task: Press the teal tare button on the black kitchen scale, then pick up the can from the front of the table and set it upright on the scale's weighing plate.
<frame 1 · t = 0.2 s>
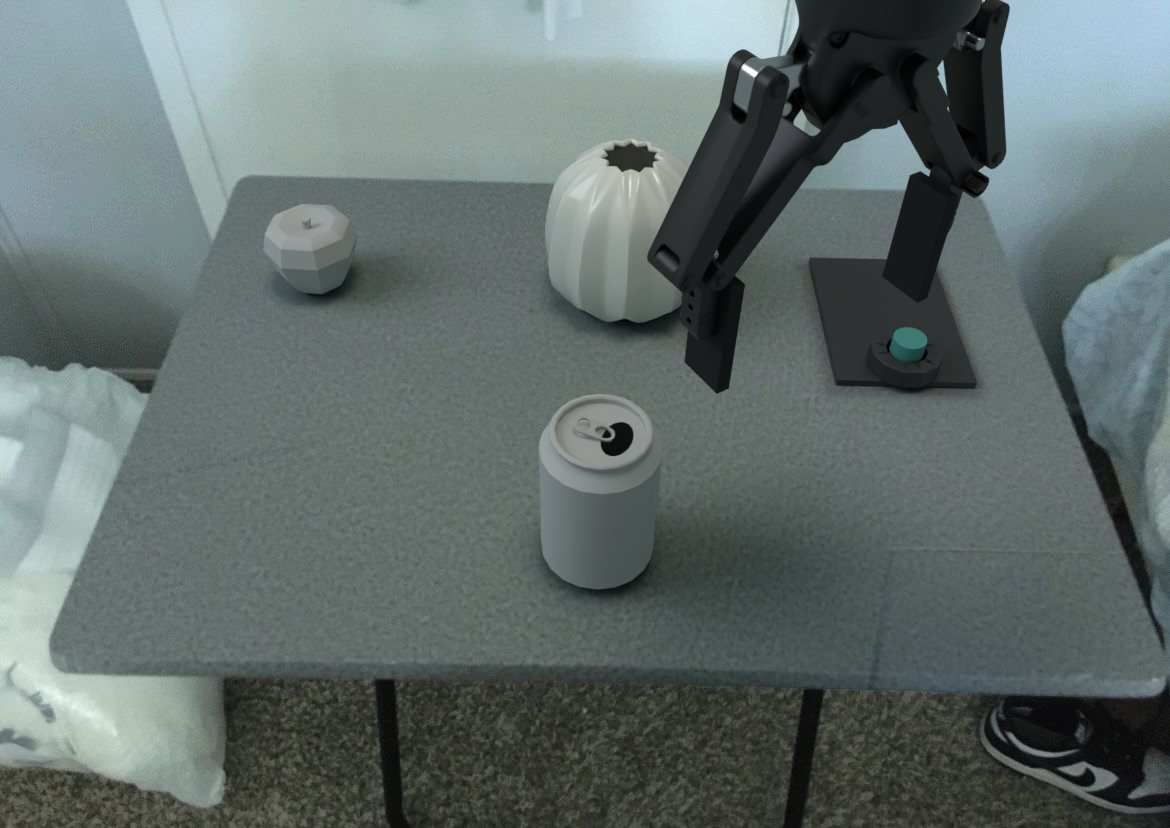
hand: (809, 329, 54), 21 cm above the table, tool pointing down, fingers open, 13 cm apart
apple: (319, 283, 90), on the table
can: (596, 552, 70), on the table
scale: (886, 321, 87), on the table
vase: (624, 294, 89), on the table
tare button: (908, 345, 81), point 3 cm above the table, slide at 0.1 cm
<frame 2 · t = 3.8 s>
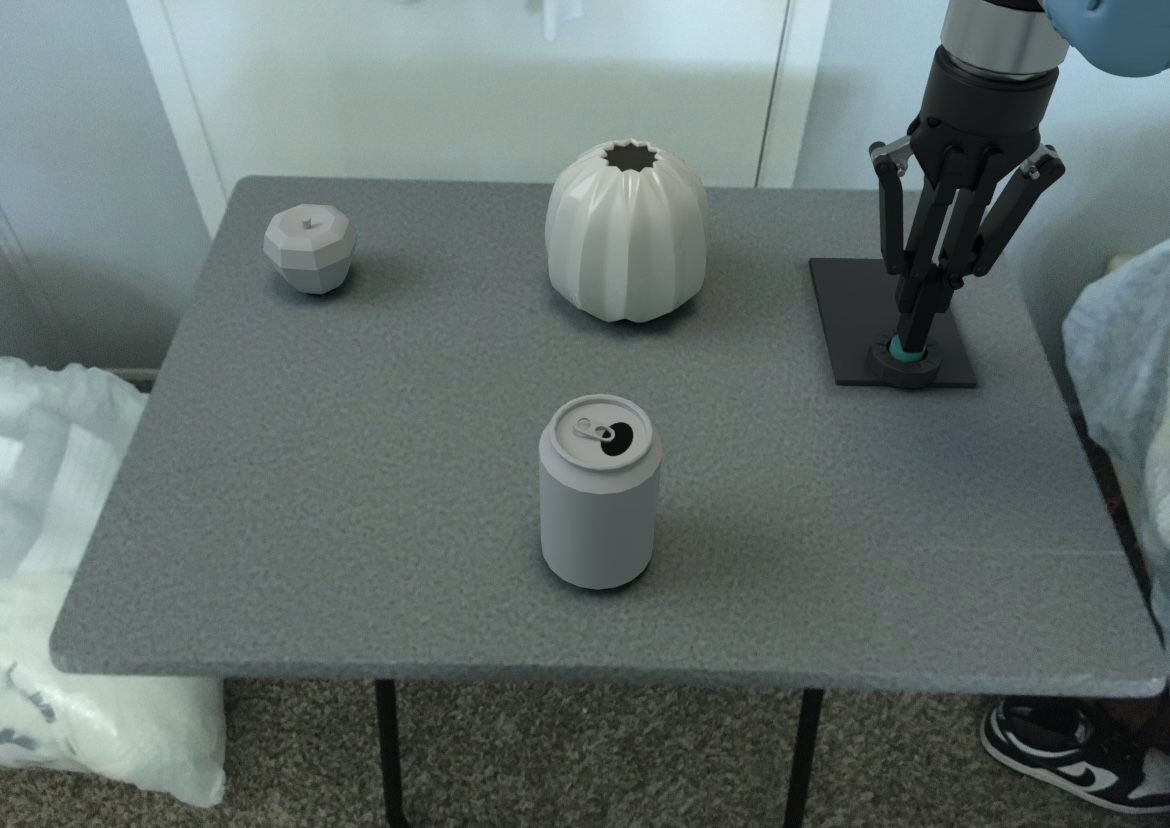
hand: (909, 340, 81), 3 cm above the table, tool pointing down, fingers closed
tare button: (906, 351, 81), point 2 cm above the table, slide at -0.5 cm, touching gripper
everything else where it was.
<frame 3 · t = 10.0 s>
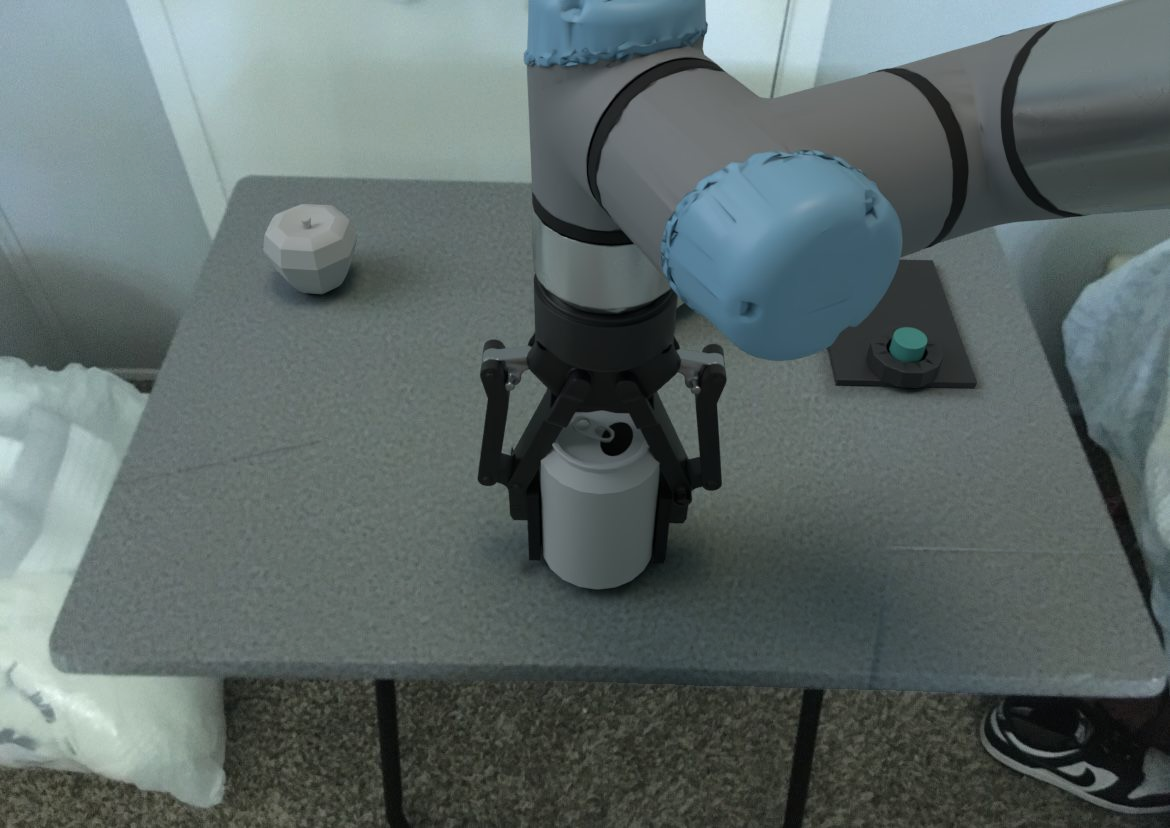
hand: (597, 545, 69), 1 cm above the table, tool pointing down, fingers closed on can, 7 cm apart
can: (596, 552, 70), on the table, touching gripper
tare button: (908, 345, 81), point 3 cm above the table, slide at 0.1 cm
everything else where it was.
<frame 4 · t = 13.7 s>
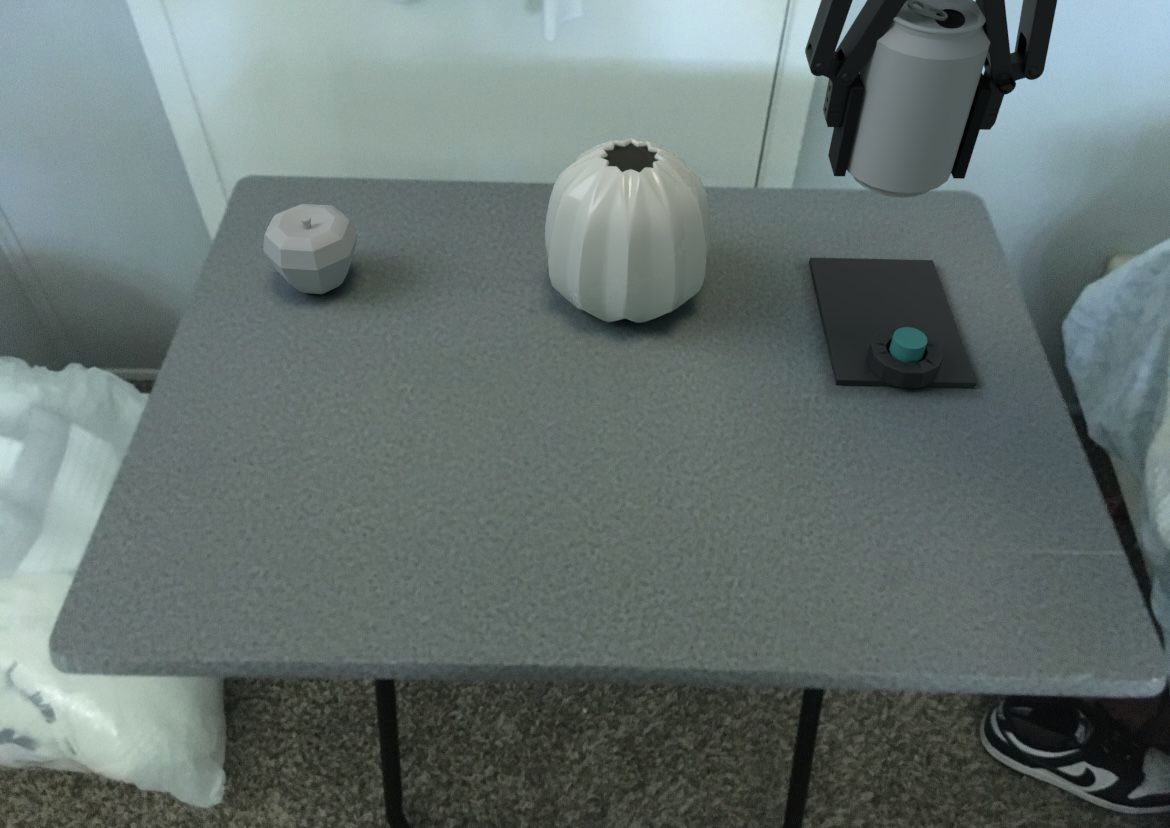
hand: (895, 166, 72), 17 cm above the table, tool pointing down, fingers closed on can, 7 cm apart
can: (892, 176, 73), point 16 cm above the table, touching gripper
everything else where it was.
when the fingers open (3 cm above the table, at t = 17.7 s): can stays where it is, resting on scale.
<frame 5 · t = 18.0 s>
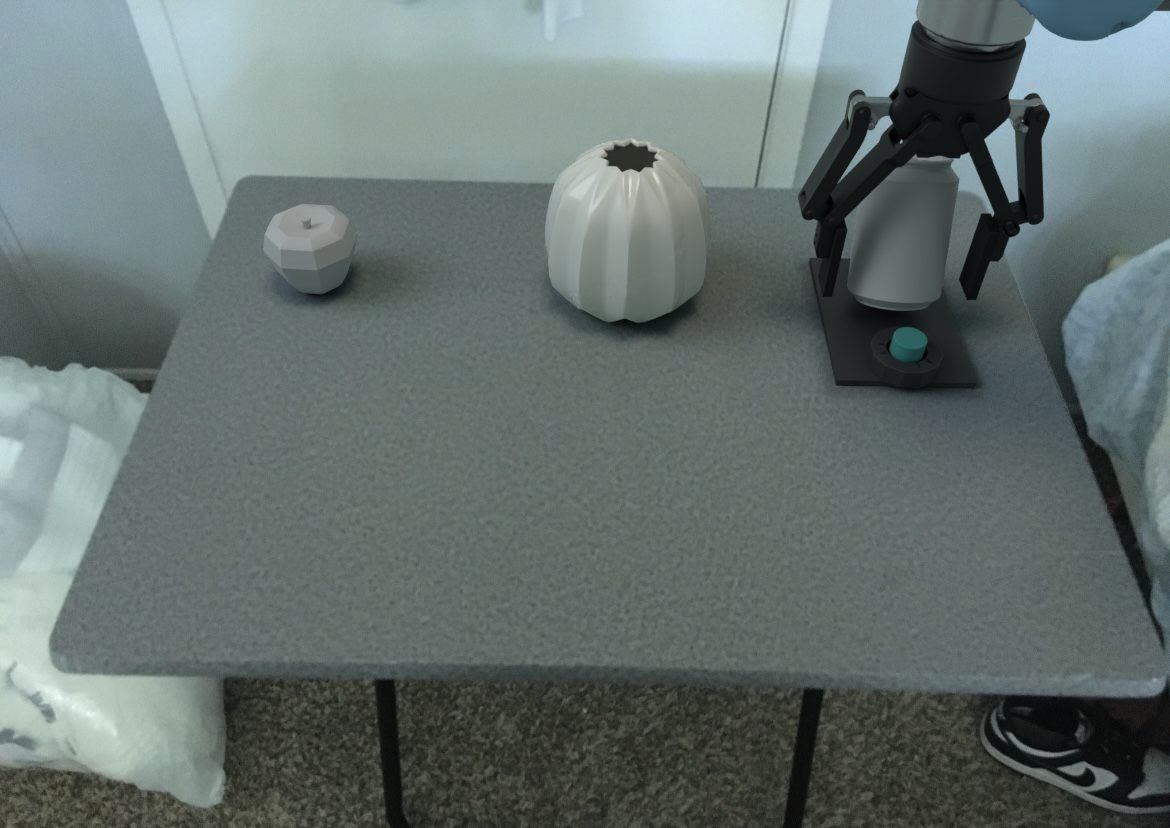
hand: (896, 288, 84), 4 cm above the table, tool pointing down, fingers open, 11 cm apart
can: (891, 303, 86), point 2 cm above the table, touching scale
everything else where it was.
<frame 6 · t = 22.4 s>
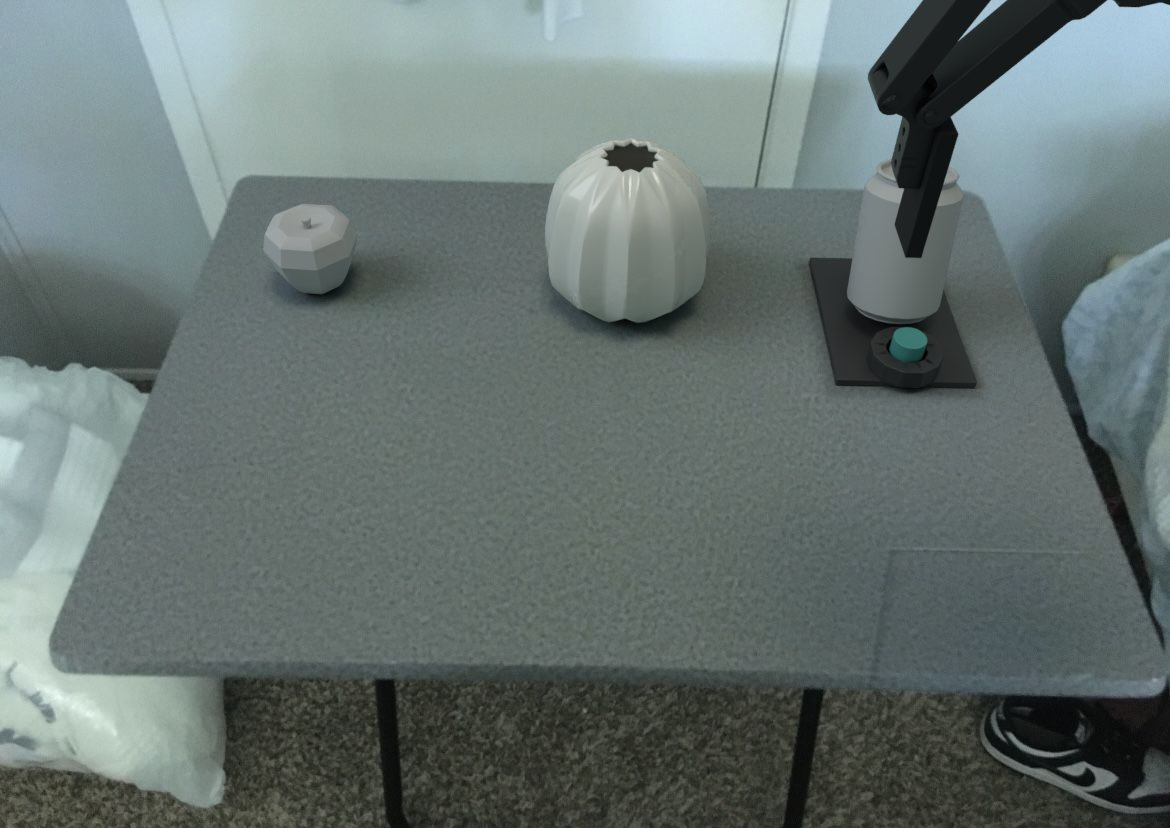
hand: (1049, 244, 49), 27 cm above the table, tool pointing down, fingers open, 13 cm apart
at the end: tare button pushed in 1.0 cm at the most during the clip, back to where it started at the end; can 0.1 cm off-centre on the scale, point 1.3 cm above the scale's base; can tilted 13° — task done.
